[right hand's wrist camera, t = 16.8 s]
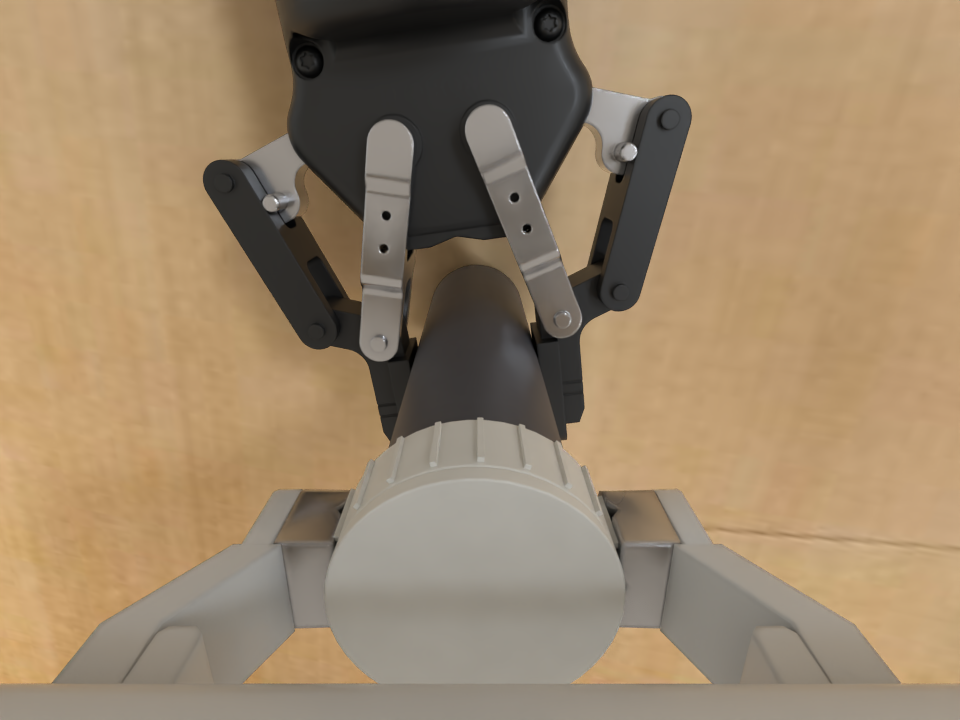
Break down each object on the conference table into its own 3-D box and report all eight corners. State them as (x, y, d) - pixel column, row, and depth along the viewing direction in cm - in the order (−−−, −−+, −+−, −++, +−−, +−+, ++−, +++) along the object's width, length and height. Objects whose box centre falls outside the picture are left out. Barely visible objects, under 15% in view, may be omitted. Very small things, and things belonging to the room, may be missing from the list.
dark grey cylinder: (516, 259, 23) (587, 462, 8) (525, 346, 25) (600, 652, 10) (424, 271, 24) (331, 491, 9) (439, 356, 25) (381, 673, 10)
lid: (385, 378, 9) (364, 432, 7) (649, 460, 10) (686, 527, 8) (318, 591, 11) (288, 675, 9) (547, 649, 12) (560, 739, 10)
